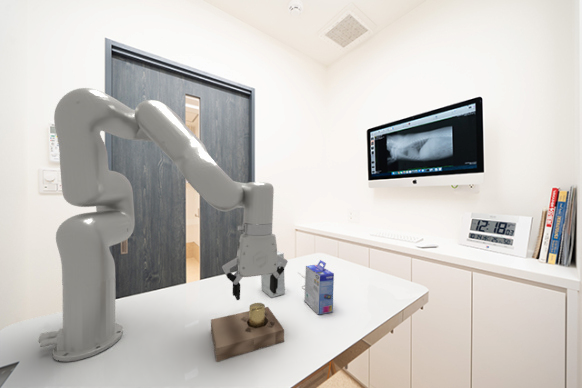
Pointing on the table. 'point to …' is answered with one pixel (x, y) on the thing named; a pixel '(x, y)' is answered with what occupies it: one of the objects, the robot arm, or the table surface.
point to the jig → (243, 334)
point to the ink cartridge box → (319, 288)
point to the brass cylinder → (257, 315)
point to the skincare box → (266, 282)
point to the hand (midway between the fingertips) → (255, 294)
